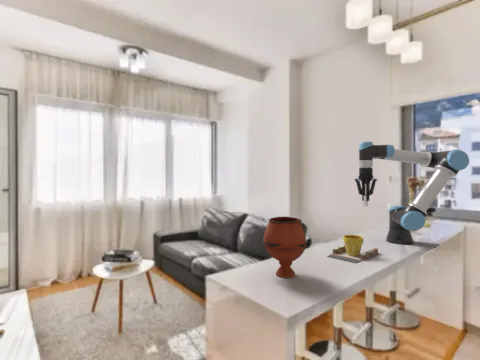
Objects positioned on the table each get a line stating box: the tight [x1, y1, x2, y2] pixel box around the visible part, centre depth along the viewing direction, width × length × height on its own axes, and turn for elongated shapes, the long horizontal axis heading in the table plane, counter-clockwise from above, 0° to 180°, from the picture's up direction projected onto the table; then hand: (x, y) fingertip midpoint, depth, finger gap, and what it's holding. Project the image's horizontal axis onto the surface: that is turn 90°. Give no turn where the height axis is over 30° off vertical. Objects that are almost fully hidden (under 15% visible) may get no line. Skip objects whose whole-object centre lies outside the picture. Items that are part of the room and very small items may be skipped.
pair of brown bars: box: [332, 244, 379, 261], centre depth 162 cm, size 19×17×3 cm
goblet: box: [262, 216, 307, 279], centre depth 130 cm, size 19×19×25 cm
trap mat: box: [326, 253, 362, 264], centre depth 153 cm, size 6×16×1 cm, turn 43°
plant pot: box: [342, 234, 364, 257], centre depth 160 cm, size 10×10×10 cm
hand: (365, 206), depth 177 cm, fingers closed
